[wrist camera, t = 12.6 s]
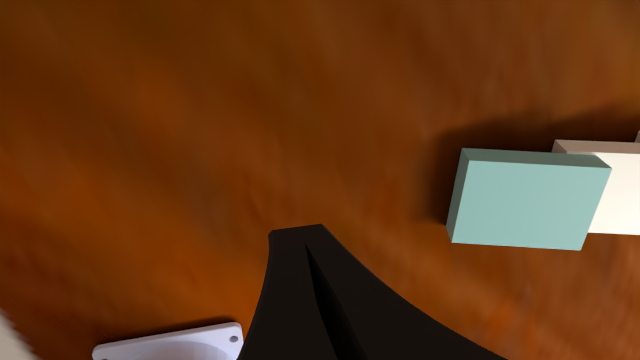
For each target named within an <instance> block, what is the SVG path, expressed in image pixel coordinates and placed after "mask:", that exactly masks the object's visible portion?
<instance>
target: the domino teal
mask: <svg viewBox="0 0 640 360" xmlns="http://www.w3.org/2000/svg"><path fill="white" fill-rule="evenodd" d="M611 171H612V168H611V167H610V166H609V165H608V164H606V163H605V162H604V161H603V160H601V159H600V158H599V157H598V156H596V155H584V154H565V153H547V152H529V151H510V150H492V149H474V148H462V150H461V155H460V159H459V164H458V169H457V174H456V179H455V184H454V189H453V194H452V199H451V203H450V208H449V213H448V218H447V223H446V228H447V231H448V234H449V236H450V239H451V242H453V243H469V244H485V245H501V246H517V247H534V248H550V249H566V250H581V248H582V245H583V243H584V240H585V238H586V235H587V232H588V230H589V227H590V225H591V222H592V220H593V217H594V214H595V212H596V209H597V207H598V204H599V202H600V199H601V197H602V194H603V191H604V189H605V186H606V184H607V181H608V179H609V176H610V173H611Z"/></svg>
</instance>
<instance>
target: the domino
mask: <svg viewBox="0 0 640 360" xmlns="http://www.w3.org/2000/svg"><path fill="white" fill-rule="evenodd" d="M551 153H565V154H584V155H596V156H598V157H599V158H600V159H601V160H603V161H604V162H605V163H606V164H608V165H609V166H610V167H611V168H612V171H611V173H610V176H609V179H608V181H607V184H606V186H605V189H604V191H603V194H602V197H601V199H600V202H599V204H598V207H597V209H596V212H595V214H594V217H593V220H592V222H591V225H590V227H589V230H588V232H594V233H614V234H635V235H640V143H630V142H604V141H577V140H555V141H554V145H553V148H552V152H551Z"/></svg>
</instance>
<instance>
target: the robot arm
mask: <svg viewBox="0 0 640 360" xmlns="http://www.w3.org/2000/svg"><path fill="white" fill-rule="evenodd" d="M268 239H269V257H268V264H267V269H266V274H265V279H264V283H263V288H262V291H261V295H260V298H259V301H258V304H257V308H256V311H255V314H254V317H253V320H252V323H251V325H250V328H249V331H248V333H247V336H246V339H245V341H244V343H243V336H242V329H241V325H240V324H239V323H236V322H230V323H224V324H218V325H212V326H206V327H201V328H195V329H189V330H183V331H177V332H171V333H165V334H159V335H153V336H147V337H141V338H136V339H130V340H124V341H118V342H112V343H106V344H101V345H97V346H96V347H95V348H94V350H93V353H92V357H93V360H104V359H107V360H507V359H505V358H503V357H501V356H499V355H497V354H495V353H493V352H491V351H489V350H487V349H485V348H483V347H481V346H479V345H477V344H476V343H474V342H472V341H470V340H468V339H467V338H465V337H463V336H461V335H459V334H458V333H456V332H454V331H452V330H451V329H449V328H447V327H446V326H444V325H442V324H441V323H439V322H437V321H436V320H434V319H433V318H431V317H430V316H428V315H427V314H425V313H424V312H422V311H421V310H419V309H418V308H416V307H415V306H413V305H412V304H410V303H409V302H408V301H406V300H405V299H404V298H402V297H401V296H400V295H398V294H397V293H396V292H395V291H393V290H392V289H391V288H390V287H388V286H387V285H386V284H385V283H383V282H382V281H381V280H380V279H379V278H377V277H376V276H375V275H374V274H373V273H372V272H371V271H370V270H368V269H367V268H366V267H365V266H364V265H363V264H362V263H361V262H360V261H358V260H357V259H356V258H355V257H354V256H353V255H352V254H351V253H350V252H349V251H348V250H347V249H346V248H345V247H344V246H343V245H342V244H341V243H340V242H339V241H338V240H337V239H336V238H335V237H334V236H333V235H332V234H331V232H330V231H329V230H328V229H327V228H326V227H325V226H323V225H322V224H316V225H308V226H301V227H293V228H286V229H278V230H272V231H271V232H270V233H269V234H268ZM232 336H236V337H232Z"/></svg>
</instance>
